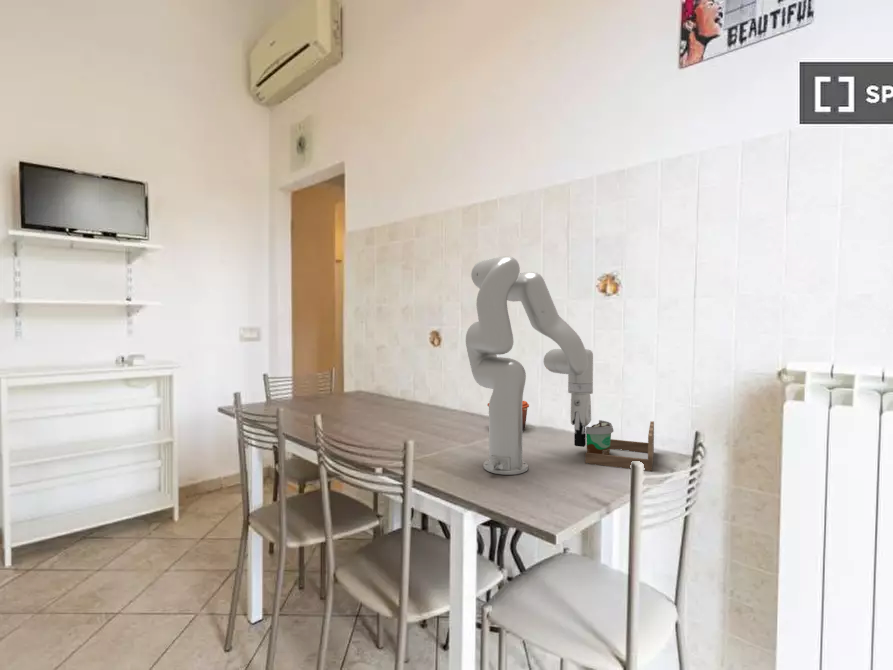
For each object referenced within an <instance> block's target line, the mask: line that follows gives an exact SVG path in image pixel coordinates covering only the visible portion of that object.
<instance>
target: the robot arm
mask: <svg viewBox="0 0 893 670" xmlns="http://www.w3.org/2000/svg"><path fill="white" fill-rule="evenodd" d="M520 268H521V266H520V263H519V261H518V260H517V259H516V258H514V257H512V256H498V257H494V258H489V259H484V260H481V261H479V262H477V263H476V264H475V265H474V266H473V267H472V269H471V273H470V277H471V280H472V283H473V284H474V285H475V287H476V288H478V289H479V291H478V293H477V297H476V301H475V302H476V303H475V304H476V313H477V319H478V321H476V322H474V323H472V324H470V326H469V327H468V329H467V331H466V333H465V346H466V352H467V355H468V356H467V357H468V360H469V365H470V369H471V373H472V376H473V379H474V381H475V382H476V383H477V385H479V386H480V387H483V388H486V389H490V390H491V389H492V393H491V396H490V398H489V401H488V403H489V406H488V459H487V460H485V461H484V462H483V469H484V470H485V471H487V472H489V473H492V474H495V475H505V476H508V475H510V476H511V475H520V474H524V473H525V472H527V470H529V464H528V463H527V462H526V461H524V460H523V431H522V401H524V400H523V399H524V390H525V385H526V381H527V380H526V379H527V374H526V370H525V367H524V365H522V363H520V362H519V361H518V360H516V359H513V358H509V357H501V356H500V355H505V354H507V353H509V352H511V351H512V349H513V346H514V334H513V329H512V324H511V320H510V316H509V310H508V309H509V308H508V302H512V303H513V302H521V305H522V306H523V309H524V311H525V314H526V316H527V318H528V321H529V322H530V325H531V326H532V328H533V329H534V330H536V331H537V332H538V333H540V334H541V335H544V336H545V337H548V338H549V339H551V340H552V341H554V342H555V343H556V344H557V345H558V347H559V348H555V349H554V348H553V349H551V350H549V351H547V352H546V353H545V354H544V356H543V365H544V367H545V368H546V370H548V371H549V372H551V373H555V374H562V375H568V376H567V392H568V393H569V394H570V424H571V425H572V426H574V434H573V435H574V444H573V445H574V446H575V447H581V448H584V447H586V446H587V439H586V427H588V426H589V424H590V423H591V422H592V400H591V399H592V398H591V395H593V390H594V386H593V385H594V353H593V351H592V350H590V349H589V348H588V349H586V347H585V345H584V343H583V341H582V338H581V337H580V336H579V334H578V333H577V331H576V330H574V328H573V327H572V326H570V324H569V323H567V321H566V320H564V319H563V318H562V317H561V316H560V315H559V313H558V310H557V308H556V305H555V304H554V301H553V298H552V296H551V294H550V291H549V289H548V286H547V284H546V281H545V279H544V278H543V276H542V275H541V274H540V273H538V272H535V271H526V272H521V273H520V271H521V270H520ZM497 355H498V356H499V357H498V356H497Z"/></svg>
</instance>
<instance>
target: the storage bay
mask: <svg viewBox="0 0 893 670" xmlns="http://www.w3.org/2000/svg"><path fill="white" fill-rule="evenodd" d="M647 436H648V437H647V442H642V441H634V440H633V441H632V440H624V439H622V440H620V439H613V438H611V442H610V450H615V449H622V450H621V451H624V450H629V451H628V452H634V451H635V453H644V454H647V458H639V457H629V456H622V455H621V456H620V455H612V454H609V455H605V454H596V453H587V451H586V452H585V454H584V455H585V456H584V457H585V459H584V460H585V463H584V464H587V463H589V465H595V464H596V465H597V466H605V467H611V468H620V467H622V468H621V469H628V468H629V469H630V465H631V462H632V461H640V462H642V463H643V464H644V468H645V471H644V472H652V471H653V466H654V465H653V462H654V454H655V453H654V450H655V421H653V420H651V421H650V423H649V428H648V433H647ZM629 469H628V470H629Z"/></svg>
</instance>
